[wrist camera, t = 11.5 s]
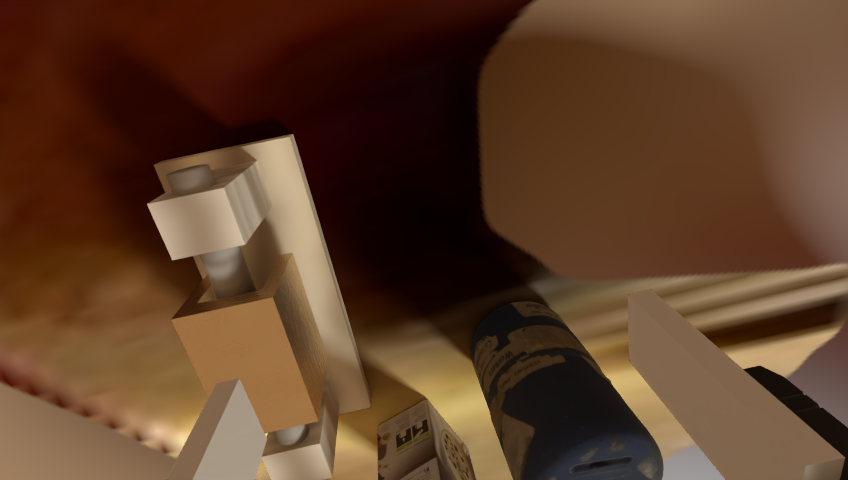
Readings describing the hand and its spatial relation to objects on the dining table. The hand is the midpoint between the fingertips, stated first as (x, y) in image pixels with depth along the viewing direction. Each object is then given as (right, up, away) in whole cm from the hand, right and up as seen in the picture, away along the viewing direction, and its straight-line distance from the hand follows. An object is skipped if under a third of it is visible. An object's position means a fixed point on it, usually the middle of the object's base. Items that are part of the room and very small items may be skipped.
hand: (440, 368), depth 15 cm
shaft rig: (-13, 0, +24) cm, 27 cm away
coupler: (-13, -2, +20) cm, 24 cm away
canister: (+8, -5, +28) cm, 30 cm away
